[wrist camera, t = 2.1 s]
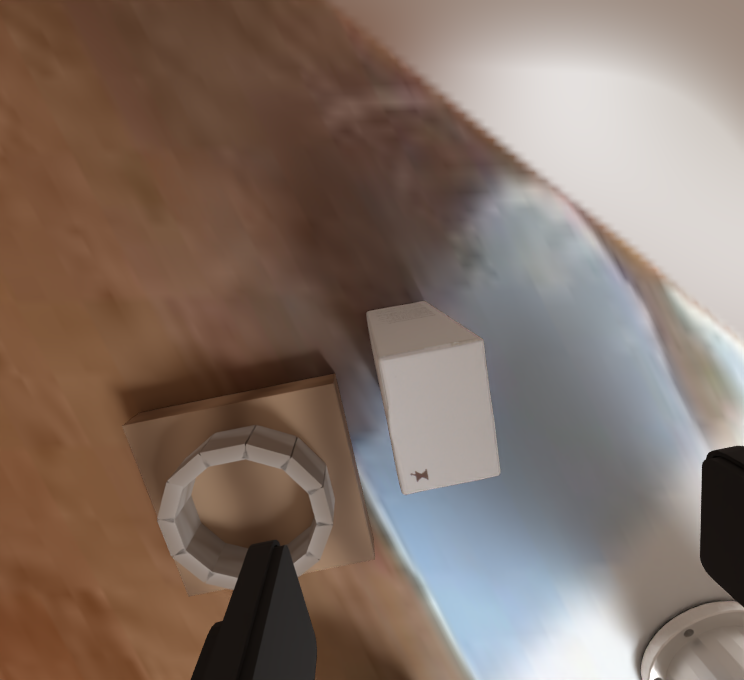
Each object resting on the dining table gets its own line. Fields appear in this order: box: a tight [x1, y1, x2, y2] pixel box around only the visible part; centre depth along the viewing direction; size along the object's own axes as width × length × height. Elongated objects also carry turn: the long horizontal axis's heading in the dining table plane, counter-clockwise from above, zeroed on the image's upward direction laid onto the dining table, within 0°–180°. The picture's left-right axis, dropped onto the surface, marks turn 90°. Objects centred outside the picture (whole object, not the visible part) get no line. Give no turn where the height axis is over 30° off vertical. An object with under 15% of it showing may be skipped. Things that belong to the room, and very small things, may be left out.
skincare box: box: [366, 301, 500, 495], centre depth 20 cm, size 6×4×12 cm
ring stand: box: [122, 374, 375, 596], centre depth 26 cm, size 14×14×4 cm
